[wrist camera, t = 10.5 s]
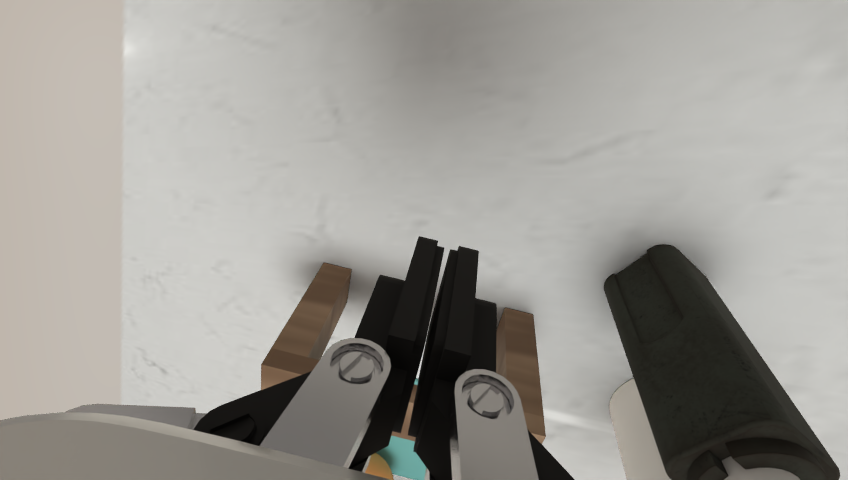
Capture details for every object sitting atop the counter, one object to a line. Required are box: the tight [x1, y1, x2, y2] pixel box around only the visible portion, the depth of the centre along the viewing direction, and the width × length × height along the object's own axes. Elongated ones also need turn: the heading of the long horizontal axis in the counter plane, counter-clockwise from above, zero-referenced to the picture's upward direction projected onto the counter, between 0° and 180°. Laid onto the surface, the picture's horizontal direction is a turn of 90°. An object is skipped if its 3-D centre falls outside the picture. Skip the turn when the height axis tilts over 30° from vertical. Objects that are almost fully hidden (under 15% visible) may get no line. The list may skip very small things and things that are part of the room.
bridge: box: [261, 263, 546, 444], centre depth 28 cm, size 3×15×10 cm, turn 79°
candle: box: [604, 245, 840, 480], centre depth 18 cm, size 5×5×25 cm
